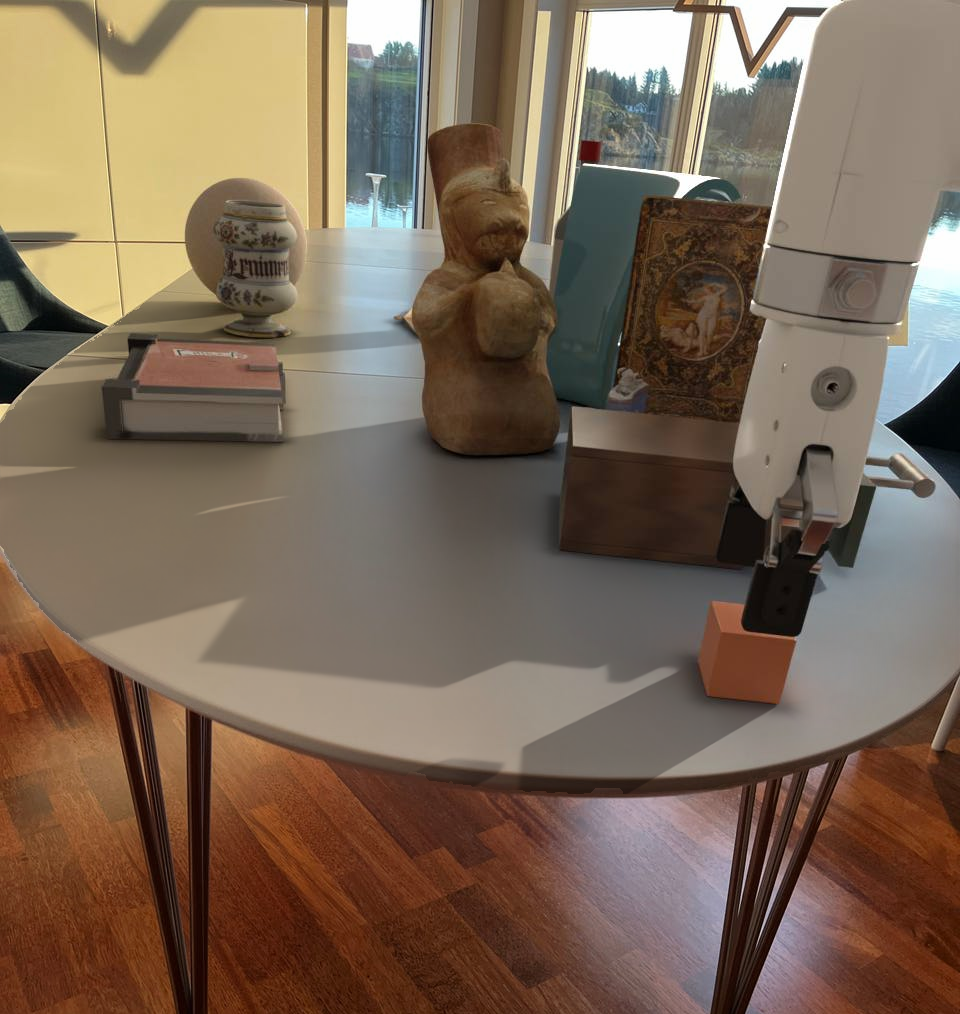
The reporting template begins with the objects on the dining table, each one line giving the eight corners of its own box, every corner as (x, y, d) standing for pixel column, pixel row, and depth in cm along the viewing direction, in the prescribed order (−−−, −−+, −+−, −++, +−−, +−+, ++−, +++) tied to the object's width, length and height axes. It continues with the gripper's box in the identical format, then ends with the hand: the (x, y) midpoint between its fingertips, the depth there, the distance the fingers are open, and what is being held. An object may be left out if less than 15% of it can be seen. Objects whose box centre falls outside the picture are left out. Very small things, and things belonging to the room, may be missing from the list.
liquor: (545, 325, 171) (566, 138, 157) (544, 316, 179) (563, 138, 165) (595, 329, 171) (620, 143, 157) (592, 321, 179) (615, 143, 165)
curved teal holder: (574, 370, 137) (590, 157, 123) (772, 391, 130) (813, 168, 116) (526, 422, 115) (539, 171, 101) (760, 451, 108) (809, 186, 94)
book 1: (290, 442, 95) (289, 392, 93) (107, 438, 91) (101, 386, 89) (281, 380, 118) (280, 339, 115) (134, 375, 114) (130, 333, 112)
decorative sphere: (325, 315, 161) (326, 186, 152) (210, 317, 151) (203, 179, 142) (282, 295, 176) (280, 176, 166) (174, 296, 166) (165, 169, 156)
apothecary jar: (260, 343, 137) (257, 207, 128) (199, 329, 141) (192, 198, 133) (313, 333, 146) (313, 206, 138) (254, 321, 151) (251, 198, 143)
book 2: (750, 449, 107) (803, 209, 96) (755, 463, 102) (812, 212, 91) (606, 432, 109) (641, 194, 97) (605, 445, 104) (642, 196, 92)
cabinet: (718, 515, 86) (737, 422, 82) (740, 569, 75) (764, 465, 71) (559, 498, 87) (571, 405, 83) (558, 550, 76) (572, 445, 72)
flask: (615, 494, 89) (633, 380, 84) (586, 488, 90) (601, 375, 85) (637, 469, 97) (654, 363, 92) (610, 464, 98) (625, 359, 93)
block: (765, 668, 61) (781, 607, 59) (779, 704, 57) (797, 640, 55) (697, 661, 61) (710, 600, 59) (706, 696, 57) (721, 632, 55)
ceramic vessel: (440, 464, 93) (461, 118, 79) (377, 407, 110) (385, 115, 96) (581, 458, 99) (625, 134, 85) (500, 404, 116) (525, 129, 102)
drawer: (878, 524, 85) (901, 446, 82) (920, 575, 75) (948, 488, 71) (669, 503, 86) (684, 424, 82) (683, 550, 75) (701, 463, 72)
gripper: (969, 327, 40) (856, 674, 48) (857, 280, 55) (786, 548, 63) (793, 307, 40) (710, 656, 48) (730, 266, 56) (675, 535, 64)
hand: (753, 595), depth 56 cm, fingers open, 9 cm apart
